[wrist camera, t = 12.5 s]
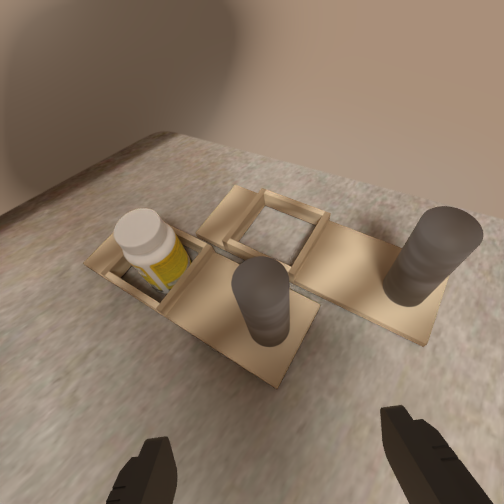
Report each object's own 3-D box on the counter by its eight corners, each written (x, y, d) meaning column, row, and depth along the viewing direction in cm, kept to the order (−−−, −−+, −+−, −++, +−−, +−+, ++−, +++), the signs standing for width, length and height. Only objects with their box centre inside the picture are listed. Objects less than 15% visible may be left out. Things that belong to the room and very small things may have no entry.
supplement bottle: (197, 254, 32) (170, 202, 25) (191, 294, 29) (159, 249, 22) (155, 255, 32) (117, 205, 25) (146, 295, 30) (100, 252, 23)
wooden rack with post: (87, 266, 32) (17, 209, 24) (136, 215, 35) (89, 149, 27) (277, 389, 24) (269, 366, 15) (319, 307, 27) (332, 251, 19)
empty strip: (197, 237, 33) (165, 170, 24) (236, 189, 36) (219, 116, 28) (423, 346, 24) (492, 301, 16) (447, 271, 27) (516, 200, 19)
